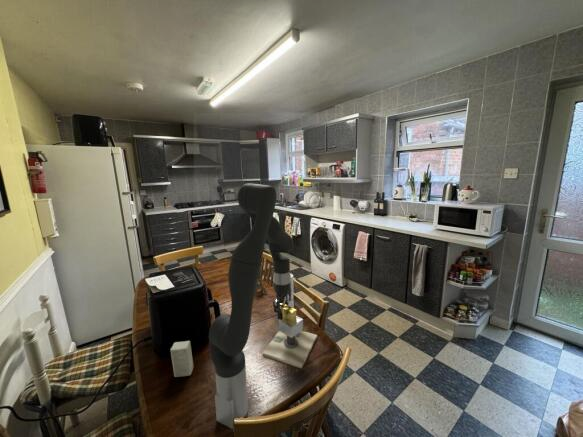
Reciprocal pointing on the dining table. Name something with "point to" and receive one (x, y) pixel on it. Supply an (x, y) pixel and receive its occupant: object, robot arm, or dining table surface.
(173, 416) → the dining table surface
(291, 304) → the tall white block
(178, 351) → the skincare box
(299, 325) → the coupling
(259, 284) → the eiffel tower
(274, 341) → the post base
